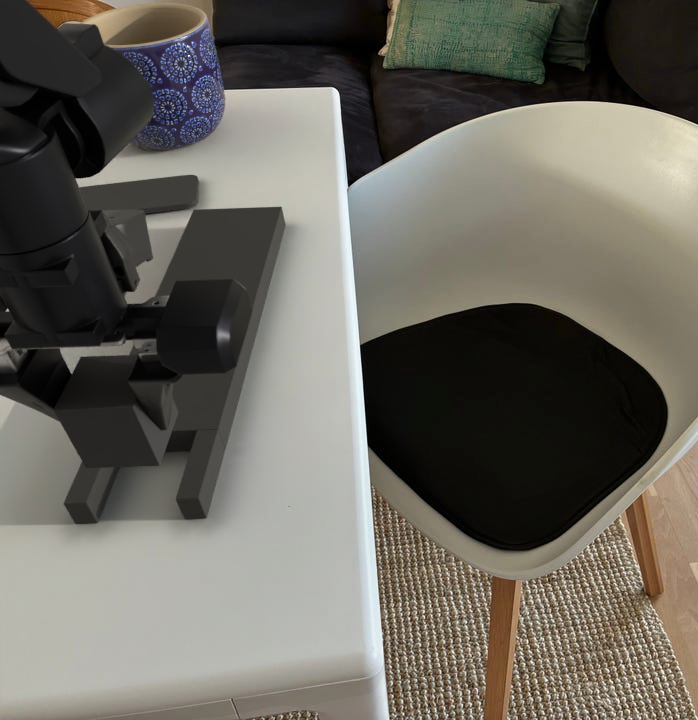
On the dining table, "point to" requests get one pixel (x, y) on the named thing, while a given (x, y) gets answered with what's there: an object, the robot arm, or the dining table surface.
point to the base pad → (202, 391)
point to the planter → (170, 69)
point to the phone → (144, 194)
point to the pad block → (110, 416)
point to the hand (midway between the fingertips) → (127, 426)
